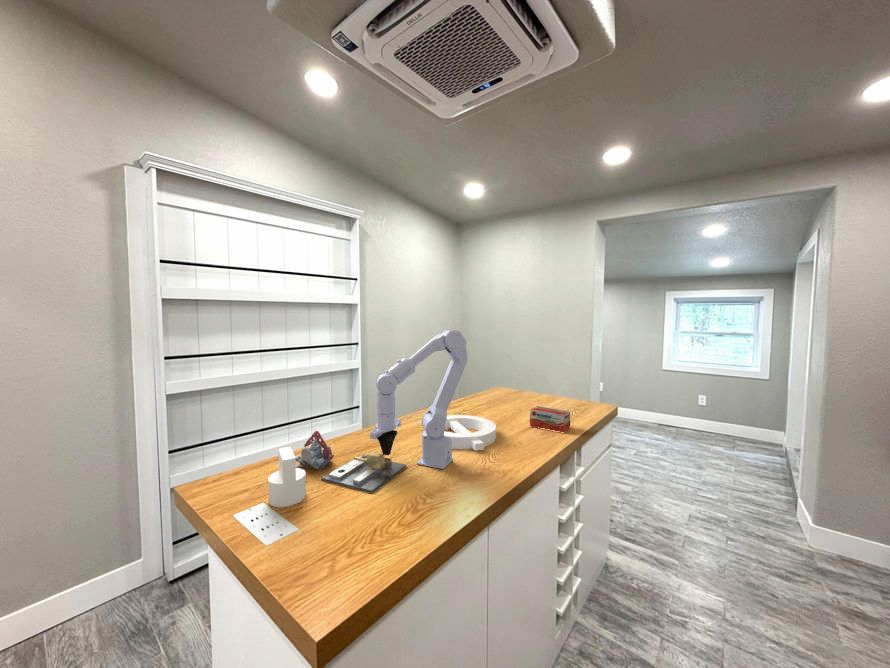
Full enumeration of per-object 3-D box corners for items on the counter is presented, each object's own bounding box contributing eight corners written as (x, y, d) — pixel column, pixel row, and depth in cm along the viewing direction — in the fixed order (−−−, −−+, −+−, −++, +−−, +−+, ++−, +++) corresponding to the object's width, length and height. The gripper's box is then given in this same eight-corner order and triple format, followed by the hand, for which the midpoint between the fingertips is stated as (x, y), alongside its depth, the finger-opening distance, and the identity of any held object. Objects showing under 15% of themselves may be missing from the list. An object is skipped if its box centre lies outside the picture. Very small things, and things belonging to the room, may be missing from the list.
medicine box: (570, 429, 148) (570, 410, 147) (564, 434, 141) (564, 415, 141) (536, 422, 157) (536, 405, 156) (529, 427, 150) (529, 409, 150)
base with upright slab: (309, 500, 90) (308, 455, 89) (270, 510, 85) (269, 463, 85) (302, 486, 98) (301, 444, 97) (267, 494, 93) (265, 451, 92)
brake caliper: (345, 452, 115) (328, 431, 108) (325, 483, 108) (305, 462, 101) (320, 446, 120) (302, 425, 114) (300, 475, 113) (279, 455, 106)
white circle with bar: (444, 422, 158) (444, 412, 157) (504, 431, 145) (504, 420, 145) (412, 442, 132) (412, 430, 132) (481, 455, 120) (481, 442, 120)
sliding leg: (384, 466, 105) (384, 454, 105) (380, 469, 103) (380, 457, 103) (356, 460, 109) (356, 449, 109) (352, 463, 107) (352, 451, 107)
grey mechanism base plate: (406, 467, 110) (406, 457, 110) (372, 493, 94) (372, 481, 93) (360, 457, 117) (360, 448, 117) (321, 480, 101) (321, 469, 101)
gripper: (388, 405, 118) (388, 444, 119) (361, 416, 105) (362, 460, 105) (406, 407, 115) (406, 447, 116) (381, 419, 102) (381, 464, 102)
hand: (386, 454), depth 110 cm, fingers closed
